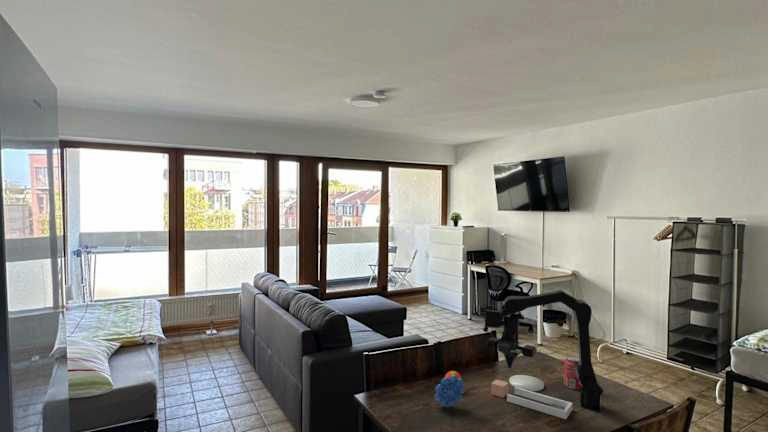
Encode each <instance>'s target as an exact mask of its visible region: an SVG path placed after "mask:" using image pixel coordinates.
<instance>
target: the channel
mask: <svg viewBox="0 0 768 432" xmlns="http://www.w3.org/2000/svg"><path fill="white" fill-rule="evenodd" d="M519 396H520V397H519ZM522 397H524V398H522ZM530 399H531V400H530ZM537 401H538V402H537ZM506 402H508V403H512V404H515V405H518V406H521V407H525V408H528V409H531V410H534V411H537V412H541V413H544V414H547V415H551V416H554V417H558V418H560V419H563V420H567V418H568V417H569V415H570V414H571V412H572V411H573V402H570V401H567V400H563V399H561V398H555V397H552V396H549V395H545V394H542V393H538V392H536V391H528V390H525V389H521V388H517V387H514V395H513V394H510V393H508V394H507V395H506ZM540 402H541V403H540ZM543 403H544V404H543ZM546 404H547V405H546Z"/></svg>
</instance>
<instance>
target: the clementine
mask: <svg viewBox="0 0 768 432" xmlns="http://www.w3.org/2000/svg"><path fill="white" fill-rule="evenodd" d="M452 375H456V376H457V379H459V378H462V377H461V374H460V373H459V372H457V371H455V370H450V371H448V372H447V373H446V374H445V376H444V377H447V378H448V379H449V378H450V376H452Z"/></svg>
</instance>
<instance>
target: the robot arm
mask: <svg viewBox="0 0 768 432" xmlns="http://www.w3.org/2000/svg"><path fill="white" fill-rule="evenodd" d="M556 303H561V304H563V305H565V306H567V308H569V309H571V311H572V314H573V319H574V320H575V323H576V331H577V333H576V334H577V347H578V358H579V363H578V364H574V366H575V375H576V377H577V379H578V381H580V383H581V385H582V387H581V391H580V399H579V403H580V407H581V408H584V409H588V410H590V411H595V412H601V409H602V407H603V402H602V399H603V397H602V396H603V394H604V393H603V392H604V388H602V386H601V384H600V383H599V382H598V380H597V377H596V373H595V370H594V367H593V365H592V364H593V363H592V357H591V356H592V354H591V341H590V340H591V337H590V322H591V321H592V308H591V307H592V306H590V305H589V304H588V303H587V302H586V301H585V300H583V299H577V298H575V297H573V296H572V295H570V294H569V293H567V292H565V291H564V290H562V289H558V290H556V291H550V292H544V293H539V294H538V293H537V294H533V295H528V296H527V295H525V296H523V295H508V296H507V297H505V298H504V302H503V305H501V307H500V308H499V309H498V310H491V309H485V316H484V328H492V329H493V328H495V329H500V328H501V327H503V331H502V333H501V337H500V338H497V337H495V336H494V337H493V336H491V337H489V338H488V339H487V340H486V341H485V347H486V348H490V349H493V348H495V347H497V351H498V352H499V353H502V354H503V356H504V359H505V362H506V364H507V367H508V369H510V370H511V369H512V367H513V366H514V363H515V362H516V359H517V357H518V356H519V355H522V356H523V357H524V356H525V357H527V358H533V357H535V356H536V355H537V354H538V353H537V352H538V349H537V347H536V346H535V345H529V344H526V345H524V346H521V345H520V340H519V339H520V338H519V335H520V333H521V332H520V320H525V316H524V315H523V314H522V313H521V312H522V311H525V310H526V309H529V308H533V307H539V306H545V305H550V304H556Z"/></svg>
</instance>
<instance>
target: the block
mask: <svg viewBox="0 0 768 432" xmlns="http://www.w3.org/2000/svg"><path fill="white" fill-rule="evenodd" d="M490 384H491V386H490V387H491V388H490V389H491V390H490V394H491V395H492V396H496V397H499V398H505V397H507V394H509V381H508V382H507V381H503V380H500V379H495V380H493V381H492V382H491V383H490Z"/></svg>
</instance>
